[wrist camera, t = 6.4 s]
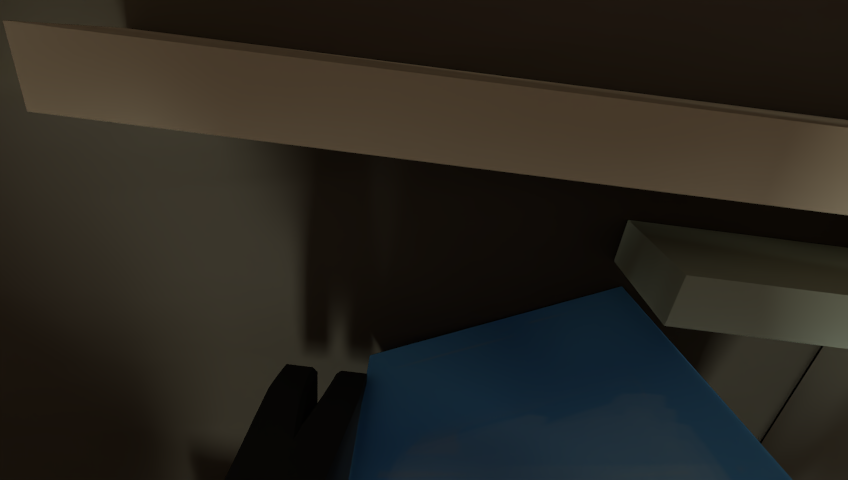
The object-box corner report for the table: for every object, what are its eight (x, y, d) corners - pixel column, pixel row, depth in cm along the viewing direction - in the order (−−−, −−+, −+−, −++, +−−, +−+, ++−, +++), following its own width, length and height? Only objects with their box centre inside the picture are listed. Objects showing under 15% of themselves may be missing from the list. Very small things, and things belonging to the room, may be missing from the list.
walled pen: (707, 586, 14) (754, 684, 12) (205, 524, 14) (162, 611, 12) (1021, 142, 8) (1240, 177, 6) (125, 27, 8) (3, 20, 6)
